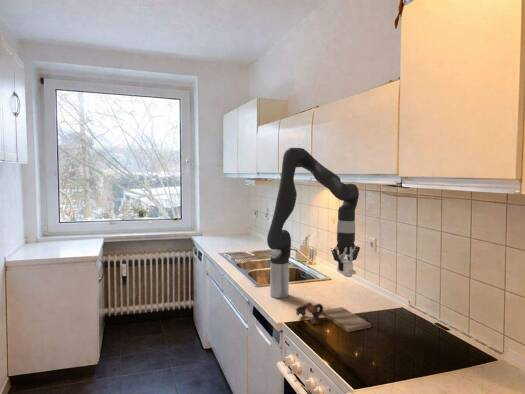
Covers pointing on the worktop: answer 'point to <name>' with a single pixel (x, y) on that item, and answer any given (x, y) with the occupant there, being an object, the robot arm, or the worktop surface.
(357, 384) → the worktop surface
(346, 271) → the plug
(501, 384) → the worktop surface
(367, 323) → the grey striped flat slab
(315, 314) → the brown irregular piece
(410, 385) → the worktop surface
